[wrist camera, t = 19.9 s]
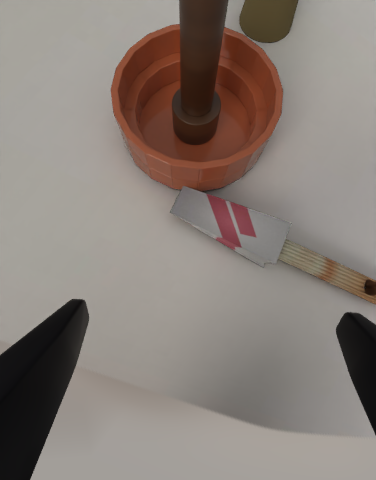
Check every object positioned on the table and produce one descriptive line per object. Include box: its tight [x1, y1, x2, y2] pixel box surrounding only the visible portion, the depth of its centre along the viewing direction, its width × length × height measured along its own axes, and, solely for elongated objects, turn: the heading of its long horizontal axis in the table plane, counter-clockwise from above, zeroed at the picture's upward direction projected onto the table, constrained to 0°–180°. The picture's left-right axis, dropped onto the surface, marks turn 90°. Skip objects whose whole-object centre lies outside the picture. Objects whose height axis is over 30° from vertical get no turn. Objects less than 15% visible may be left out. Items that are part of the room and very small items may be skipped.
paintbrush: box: [170, 186, 376, 304], centre depth 21 cm, size 4×3×20 cm
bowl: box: [111, 24, 283, 191], centre depth 23 cm, size 14×14×5 cm
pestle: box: [172, 0, 228, 145], centre depth 19 cm, size 4×4×12 cm
